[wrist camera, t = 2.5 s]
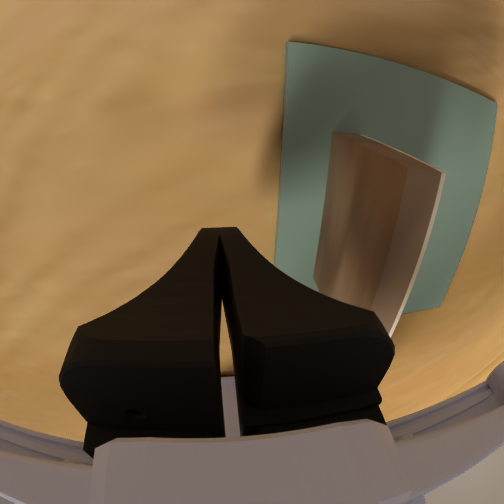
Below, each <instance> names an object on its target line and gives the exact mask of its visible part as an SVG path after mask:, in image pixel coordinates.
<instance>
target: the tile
mask: <svg viewBox="0 0 504 504" xmlns="http://www.w3.org/2000/svg"><path fill="white" fill-rule="evenodd" d="M445 176H446V173H445V172H443V171H441V170H439V169H437V168H435V167H433V166H431V165H429V164H427V163H425V162H423V161H421V160H419V159H417V158H415V157H413V156H411V155H409V154H406V153H404V152H402V151H400V150H398V149H395V148H393V147H391V146H389V145H386V144H384V143H382V142H379V141H377V140H374V139H372V138H370V137H367V136H365V135H360V134H352V133H343V132H333V131H332V137H331V147H330V157H329V167H328V175H327V184H326V192H325V200H324V208H323V215H322V222H321V229H320V236H319V242H318V249H317V255H316V261H315V267H314V273H313V279H314V281H315V283H316V285H317V287H318V290H319V292H320V293H321V294H324V295H326V296H329V297H331V298H334V299H336V300H339V301H341V302H344V303H347V304H350V305H354V306H357V307H360V308H364V309H367V310H371V311H374V312H375V314H376V315H377V316H378V318H379V319H380V321H381V322H382V324H383V325H384V327H385V329H386V331H387V333H388V334H389V336H390V338H391V336H392V334H393V332H394V330H395V327H396V325H397V323H398V321H399V318H400V316H401V314H402V311H403V309H404V307H405V304H406V302H407V299H408V297H409V294H410V292H411V289H412V287H413V284H414V281H415V279H416V276H417V273H418V271H419V268H420V265H421V262H422V259H423V256H424V253H425V250H426V247H427V244H428V241H429V237H430V234H431V231H432V227H433V224H434V220H435V217H436V213H437V209H438V206H439V202H440V198H441V194H442V189H443V185H444V181H445Z"/></svg>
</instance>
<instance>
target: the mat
mask: <svg viewBox="0 0 504 504" xmlns="http://www.w3.org/2000/svg"><path fill="white" fill-rule="evenodd" d="M496 113H497V103H495V102H493V101H491V100H489V99H487V98H485V97H483V96H481V95H479V94H477V93H475V92H473V91H471V90H469V89H466V88H464V87H462V86H460V85H457V84H455V83H453V82H450V81H448V80H445V79H443V78H440V77H438V76H435V75H432V74H429V73H427V72H424V71H421V70H418V69H415V68H412V67H409V66H406V65H403V64H399V63H396V62H393V61H389V60H385V59H382V58H378V57H374V56H370V55H366V54H362V53H357V52H352V51H348V50H343V49H337V48H332V47H326V46H320V45H313V44H306V43H298V42H289V41H288V42H287V43H286V67H285V92H284V114H283V134H282V152H281V169H280V185H279V201H278V216H277V230H276V243H275V257H274V266H275V267H277V268H278V269H279V270H281V271H282V272H284V273H285V274H287V275H288V276H290V277H291V278H293V279H294V280H296V281H298V282H300V283H301V284H303V285H305V286H307V287H309V288H311V289H313V290H315V291H317V292H319V290H318V287H317V285H316V283H315V281H314V279H313V273H314V267H315V261H316V255H317V249H318V242H319V236H320V229H321V222H322V215H323V208H324V200H325V192H326V184H327V175H328V167H329V157H330V147H331V137H332V131H333V132H343V133H352V134H360V135H365V136H367V137H370V138H372V139H374V140H377V141H379V142H382V143H384V144H386V145H389V146H391V147H393V148H395V149H398V150H400V151H402V152H404V153H406V154H409V155H411V156H413V157H415V158H417V159H419V160H421V161H423V162H425V163H427V164H429V165H431V166H433V167H435V168H437V169H439V170H441V171H443V172H445V173H446V176H445V181H444V185H443V189H442V194H441V198H440V202H439V206H438V209H437V213H436V217H435V220H434V224H433V227H432V231H431V234H430V237H429V241H428V244H427V247H426V250H425V253H424V256H423V259H422V262H421V265H420V268H419V271H418V273H417V276H416V279H415V281H414V284H413V287H412V289H411V292H410V294H409V297H408V299H407V302H406V304H405V307H404V309H403V311H402V314H406V313H411V312H417V311H422V310H427V309H432V308H437V307H440V306H441V304H442V302H443V300H444V297H445V295H446V293H447V291H448V288H449V286H450V284H451V282H452V279H453V277H454V274H455V272H456V270H457V267H458V264H459V262H460V259H461V257H462V254H463V251H464V249H465V246H466V243H467V240H468V237H469V234H470V231H471V228H472V225H473V222H474V219H475V215H476V212H477V209H478V205H479V202H480V198H481V194H482V190H483V186H484V182H485V178H486V173H487V169H488V164H489V159H490V154H491V148H492V142H493V136H494V129H495V122H496ZM319 293H320V292H319Z"/></svg>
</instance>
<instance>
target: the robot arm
mask: <svg viewBox="0 0 504 504" xmlns="http://www.w3.org/2000/svg"><path fill="white" fill-rule="evenodd" d="M222 301H223V306H224V312H225V317H226V322H227V328H228V333H229V338H230V343H231V349H232V356H233V367H234V376H233V377H221V372H220V356H219V346H220V325H221V306H222ZM394 355H395V346H394V344H393V342H392V340H391V338H390V336H389V334H388V333H387V331H386V329H385V327H384V325H383V324H382V322H381V321H380V319H379V318H378V316H377V315H376V314H375V312H374V311H371V310H367V309H364V308H360V307H357V306H354V305H350V304H347V303H344V302H341V301H339V300H336V299H334V298H331V297H329V296H326V295H324V294H321V293H319V292H317V291H315V290H313V289H311V288H309V287H307V286H305V285H303V284H301V283H300V282H298V281H296V280H294V279H293V278H291V277H290V276H288V275H287V274H285V273H284V272H282V271H281V270H279V269H278V268H277V267H275V266H274V265H273V264H271V263H270V262H269V261H268V260H267V259H266V258H264V257H263V256H262V255H261V254H260V253H259V252H258V251H257V250H256V249H255V248H254V247H253V246H252V245H251V243H250V242H249V241H248V240H247V239H246V238H245V237H244V235H243V234H242V233H241V232H240V230H239V229H238V228H237V227H221V228H202V229H201V230H200V231H199V232H198V234H197V236H196V237H195V239H194V240H193V242H192V243H191V245H190V246H189V247H188V249H187V250H186V251H185V252H184V254H183V255H182V256H181V258H180V259H179V260H178V261H177V262H176V263H175V264H174V265H173V267H172V268H171V269H170V270H169V271H168V272H167V273H166V274H165V275H164V276H163V277H161V278H160V279H159V280H158V281H157V282H156V283H154V284H153V285H152V286H150V287H149V288H148V289H146V290H145V291H144V292H142V293H141V294H139V295H138V296H137V297H135V298H134V299H132V300H130V301H129V302H127V303H126V304H124V305H122V306H120V307H119V308H117V309H115V310H113V311H111V312H109V313H107V314H105V315H103V316H101V317H99V318H97V319H94V320H92V321H90V322H88V323H86V324H83V325H81V326H78V328H77V330H76V332H75V334H74V336H73V338H72V341H71V343H70V346H69V349H68V351H67V354H66V357H65V360H64V363H63V366H62V369H61V372H60V375H59V382H60V386H61V388H62V390H63V391H64V393H65V395H66V396H67V398H68V399H69V400H70V402H71V403H72V404H73V405H74V407H75V408H76V409H77V410H78V412H79V413H80V414H81V415H82V416H83V418H84V419H85V420H86V421H87V422H88V423H87V429H86V434H85V440H84V442H80V441H75V440H70V439H65V438H61V437H56V436H52V435H48V434H44V433H41V432H37V431H33V430H30V429H27V428H23V427H20V426H17V425H14V424H11V423H8V422H5V421H2V420H0V496H2V497H3V498H5V499H7V500H9V501H11V502H14V503H15V504H426V501H425V498H424V496H423V495H425V494H427V493H429V492H430V491H432V490H434V489H436V488H438V487H440V486H441V485H443V484H445V483H447V482H449V481H450V480H452V479H454V478H456V477H457V476H459V475H461V474H462V473H464V472H465V471H467V470H468V469H470V468H472V467H473V466H475V465H476V464H478V463H479V462H481V461H482V460H483V459H485V458H486V457H488V456H489V455H490V454H492V453H493V452H495V450H497V449H498V448H500V447H501V446H502V445H504V361H503V362H502V363H500V364H499V365H498V366H497V367H496V368H495V369H494V370H493V371H492V372H491V373H490V375H489V376H488V378H487V380H486V381H484V382H482V383H480V384H479V385H477V386H475V387H473V388H471V389H469V390H466V391H464V392H462V393H460V394H458V395H456V396H454V397H451V398H449V399H447V400H445V401H442V402H440V403H438V404H435V405H433V406H430V407H428V408H425V409H423V410H420V411H417V412H415V413H412V414H409V415H406V416H404V417H401V418H398V419H395V420H392V421H389V422H385V420H384V417H383V415H382V413H381V410H380V408H379V404H380V403H381V402H382V397H381V395H380V393H379V391H378V389H377V387H378V386H379V384H380V382H381V381H382V379H383V377H384V376H385V374H386V372H387V370H388V369H389V367H390V365H391V362H392V360H393V357H394Z"/></svg>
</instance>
